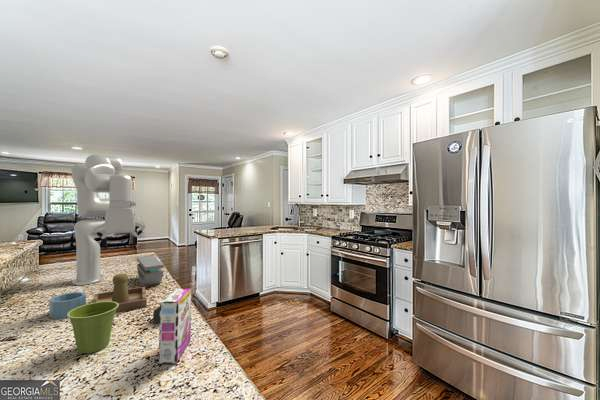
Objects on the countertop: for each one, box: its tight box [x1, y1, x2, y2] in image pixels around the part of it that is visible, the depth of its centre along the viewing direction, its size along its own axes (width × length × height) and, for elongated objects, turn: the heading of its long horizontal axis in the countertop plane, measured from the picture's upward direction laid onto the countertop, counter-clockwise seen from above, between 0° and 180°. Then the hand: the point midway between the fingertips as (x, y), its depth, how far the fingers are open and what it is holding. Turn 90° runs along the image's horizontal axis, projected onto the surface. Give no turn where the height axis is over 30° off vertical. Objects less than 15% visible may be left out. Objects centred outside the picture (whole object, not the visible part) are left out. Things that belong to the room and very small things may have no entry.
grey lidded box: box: [136, 255, 165, 287], centre depth 135 cm, size 25×8×11 cm, turn 39°
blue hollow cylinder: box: [48, 291, 87, 320], centre depth 99 cm, size 10×10×6 cm
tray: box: [91, 286, 147, 314], centre depth 107 cm, size 18×18×3 cm
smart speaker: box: [152, 306, 160, 325], centre depth 95 cm, size 9×9×4 cm
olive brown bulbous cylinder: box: [112, 273, 129, 303], centre depth 107 cm, size 6×6×11 cm
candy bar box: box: [158, 288, 192, 365], centre depth 74 cm, size 11×5×16 cm, turn 5°
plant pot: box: [67, 301, 119, 354], centre depth 76 cm, size 12×12×11 cm
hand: (120, 247), depth 107 cm, fingers open, 9 cm apart
